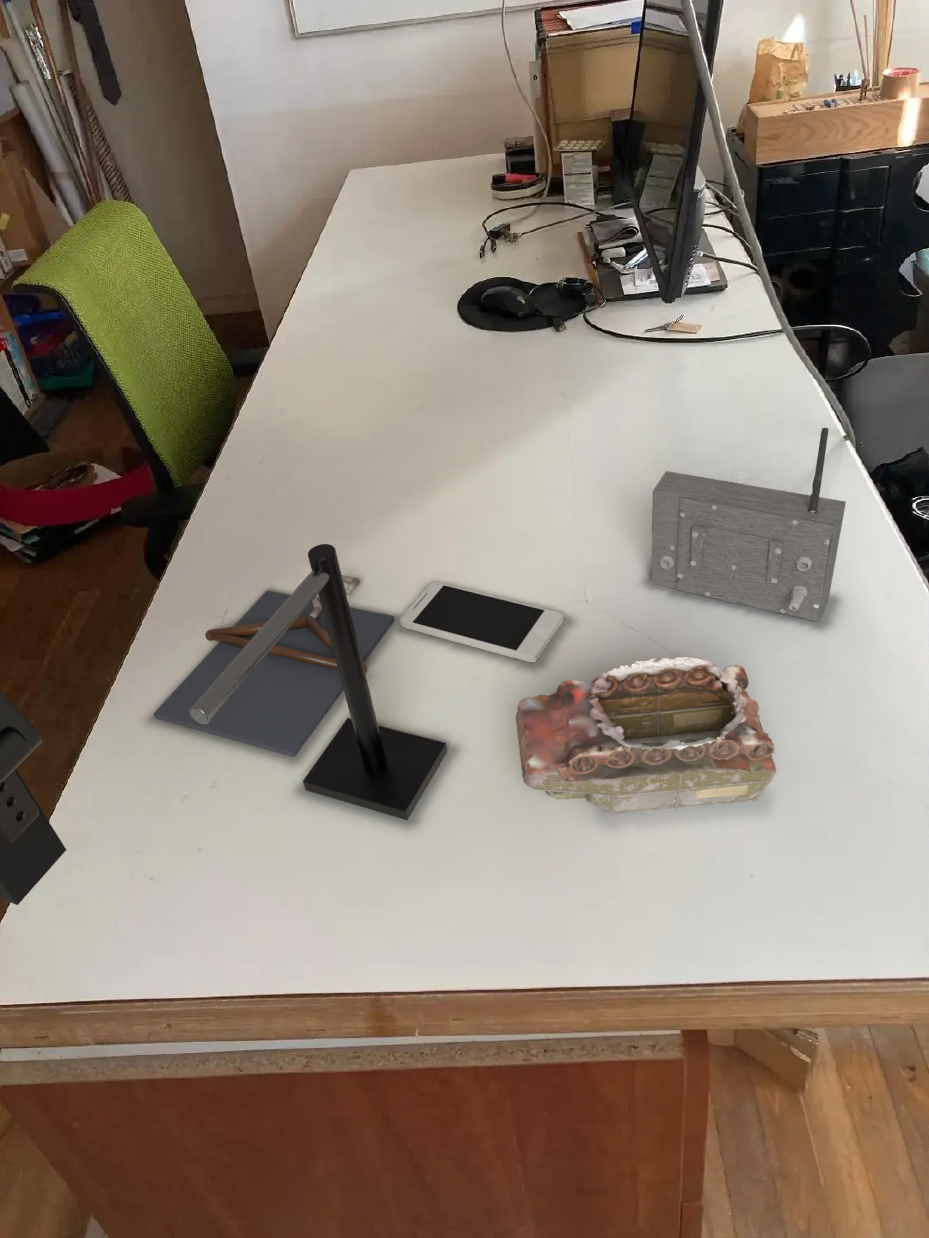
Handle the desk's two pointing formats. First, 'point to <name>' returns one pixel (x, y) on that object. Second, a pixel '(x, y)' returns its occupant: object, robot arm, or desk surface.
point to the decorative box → (648, 738)
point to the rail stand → (361, 750)
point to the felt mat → (273, 683)
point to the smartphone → (483, 621)
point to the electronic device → (747, 541)
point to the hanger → (237, 632)
